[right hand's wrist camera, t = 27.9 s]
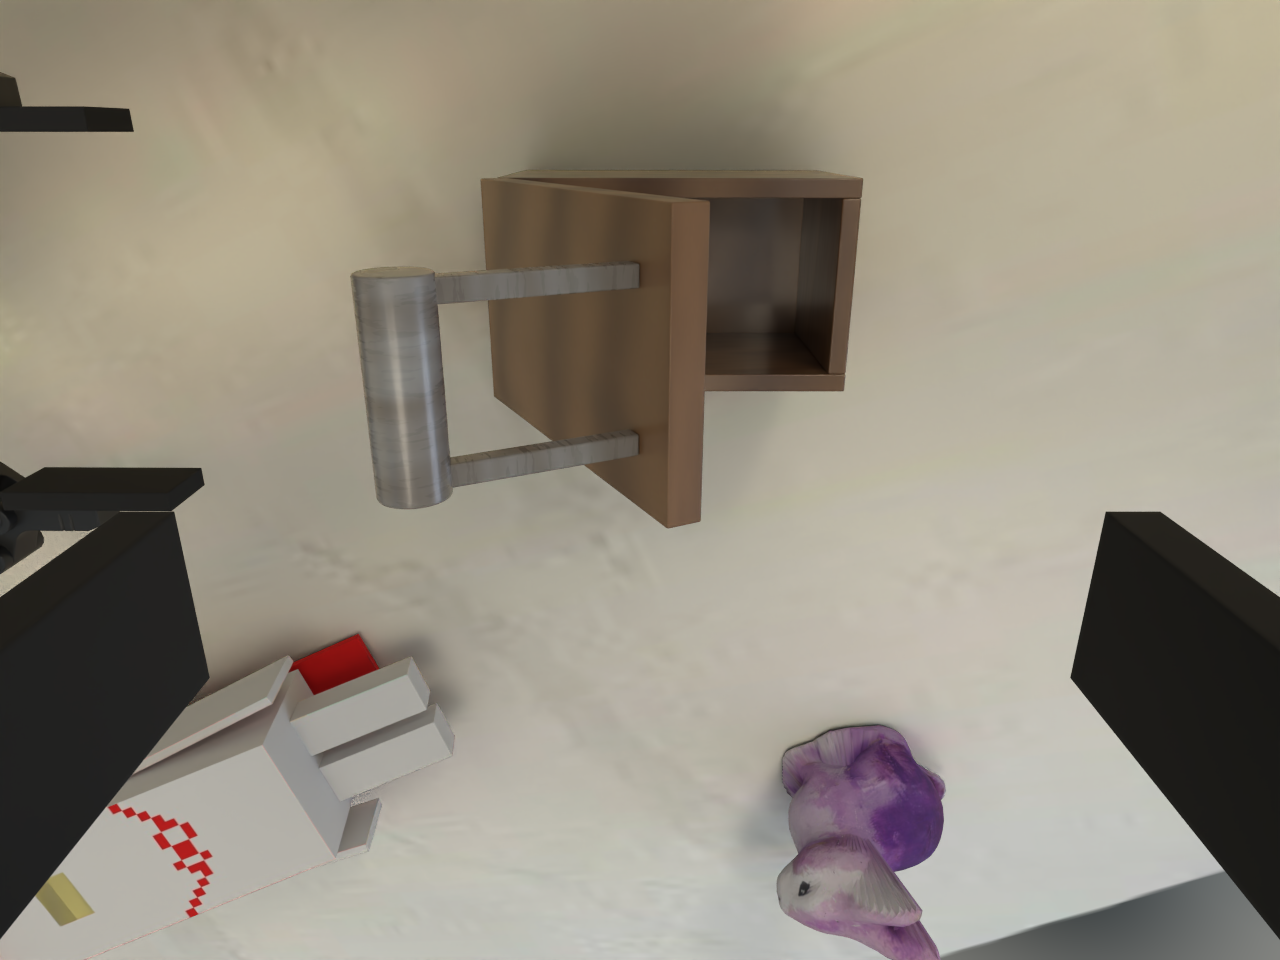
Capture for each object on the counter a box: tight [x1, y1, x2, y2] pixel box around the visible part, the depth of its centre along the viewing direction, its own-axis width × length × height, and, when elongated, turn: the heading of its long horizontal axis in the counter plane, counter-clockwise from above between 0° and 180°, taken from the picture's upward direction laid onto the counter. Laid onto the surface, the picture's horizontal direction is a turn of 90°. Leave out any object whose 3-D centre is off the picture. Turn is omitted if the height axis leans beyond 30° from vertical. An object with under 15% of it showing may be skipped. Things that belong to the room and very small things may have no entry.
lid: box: [351, 178, 710, 528], centre depth 29 cm, size 16×9×9 cm
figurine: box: [777, 725, 946, 960], centre depth 53 cm, size 9×10×15 cm
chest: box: [498, 170, 863, 391], centre depth 43 cm, size 16×9×10 cm, turn 90°
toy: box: [0, 634, 455, 960], centre depth 54 cm, size 12×13×30 cm
